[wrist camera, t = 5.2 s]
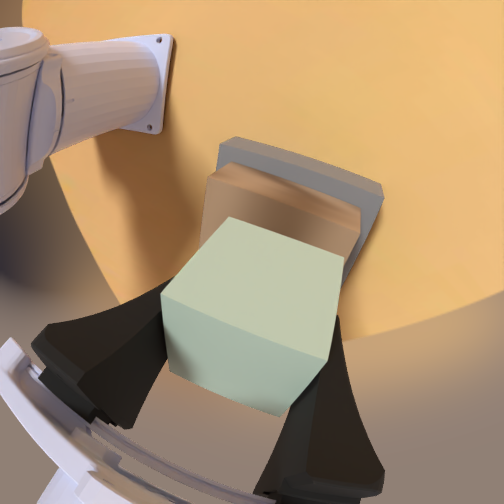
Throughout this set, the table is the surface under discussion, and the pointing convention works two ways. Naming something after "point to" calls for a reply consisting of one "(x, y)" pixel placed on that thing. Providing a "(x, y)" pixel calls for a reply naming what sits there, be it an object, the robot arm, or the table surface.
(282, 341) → the green cube
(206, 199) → the tower top
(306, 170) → the tower base
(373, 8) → the table surface
